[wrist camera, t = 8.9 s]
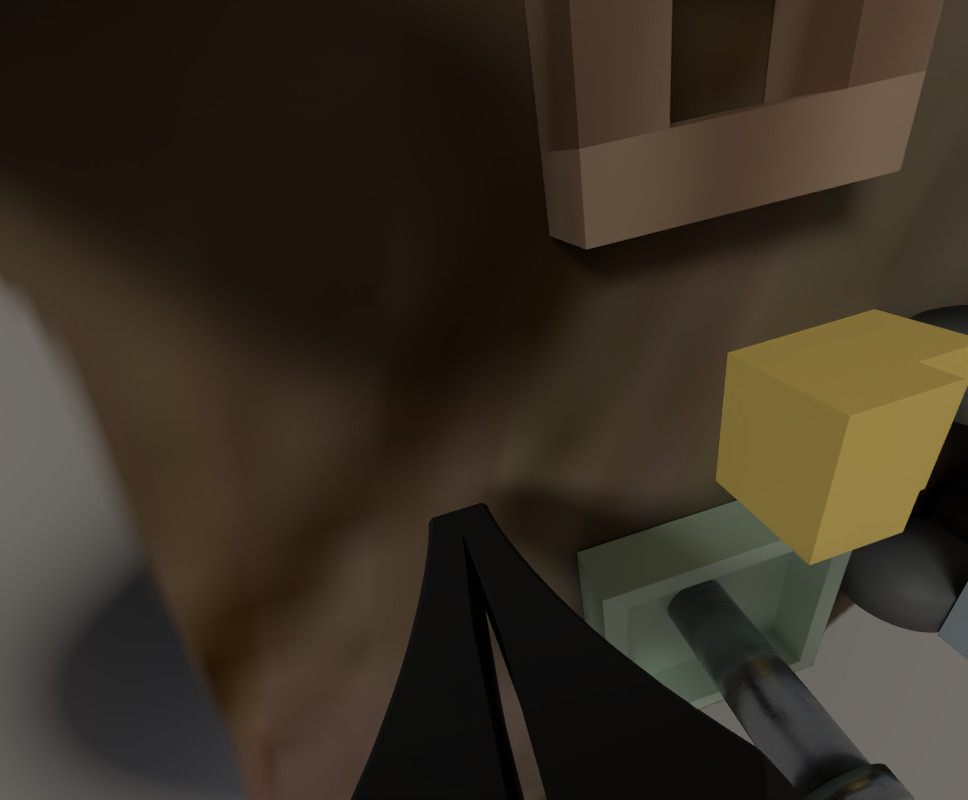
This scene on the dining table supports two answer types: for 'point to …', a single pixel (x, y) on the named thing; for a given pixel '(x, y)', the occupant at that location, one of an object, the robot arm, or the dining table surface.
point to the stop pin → (776, 702)
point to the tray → (695, 559)
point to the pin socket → (721, 136)
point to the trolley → (922, 550)
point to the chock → (839, 427)
